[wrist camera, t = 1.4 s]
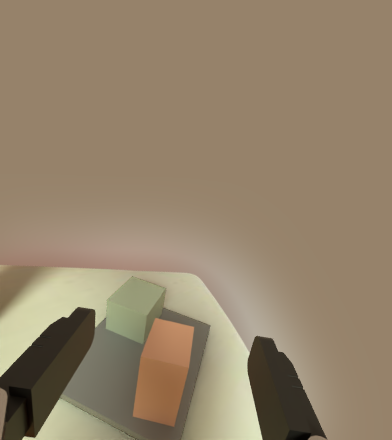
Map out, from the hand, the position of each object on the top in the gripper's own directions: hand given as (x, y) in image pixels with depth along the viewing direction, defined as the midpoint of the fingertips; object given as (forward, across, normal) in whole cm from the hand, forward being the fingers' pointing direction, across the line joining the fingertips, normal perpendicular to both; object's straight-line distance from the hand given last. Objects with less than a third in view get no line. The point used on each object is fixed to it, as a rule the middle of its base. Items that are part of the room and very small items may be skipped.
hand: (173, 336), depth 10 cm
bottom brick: (+21, +7, +20) cm, 30 cm away
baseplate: (+17, +4, +22) cm, 28 cm away
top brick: (+10, 0, +21) cm, 23 cm away
